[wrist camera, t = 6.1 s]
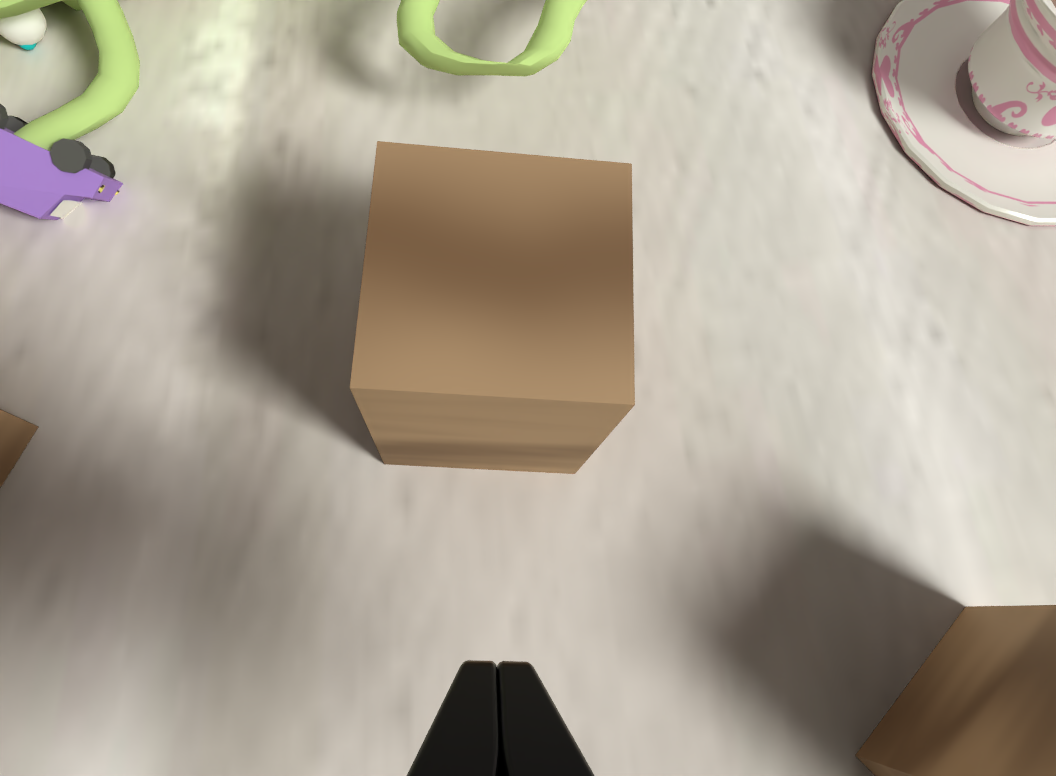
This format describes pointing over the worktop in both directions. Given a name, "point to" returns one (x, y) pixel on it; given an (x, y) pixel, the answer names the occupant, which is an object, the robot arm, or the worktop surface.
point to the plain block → (495, 308)
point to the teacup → (975, 98)
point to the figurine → (49, 141)
